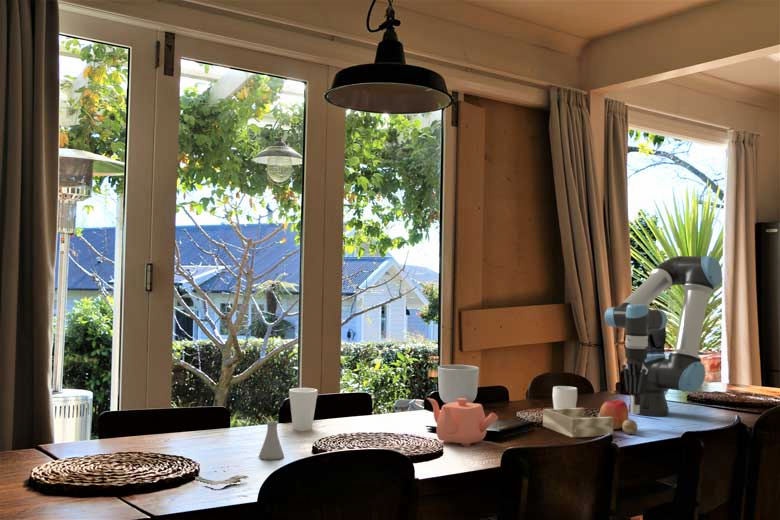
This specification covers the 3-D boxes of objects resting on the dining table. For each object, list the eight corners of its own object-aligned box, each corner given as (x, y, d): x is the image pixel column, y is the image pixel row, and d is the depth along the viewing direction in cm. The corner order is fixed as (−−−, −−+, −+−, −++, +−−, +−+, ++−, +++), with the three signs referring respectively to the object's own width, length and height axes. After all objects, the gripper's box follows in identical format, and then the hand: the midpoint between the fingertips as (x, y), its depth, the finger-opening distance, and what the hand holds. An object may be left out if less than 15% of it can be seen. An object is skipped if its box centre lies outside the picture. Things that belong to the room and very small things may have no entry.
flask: (259, 454, 221) (260, 419, 221) (285, 454, 221) (285, 419, 221) (257, 460, 213) (258, 424, 214) (283, 460, 214) (284, 424, 214)
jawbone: (229, 495, 183) (229, 487, 183) (158, 487, 190) (158, 479, 190) (249, 483, 192) (248, 475, 191) (180, 475, 199) (180, 467, 199)
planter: (433, 400, 321) (434, 364, 321) (473, 401, 323) (474, 364, 323) (440, 408, 304) (441, 369, 304) (482, 408, 306) (483, 370, 306)
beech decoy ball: (631, 432, 265) (631, 417, 265) (640, 435, 260) (640, 420, 261) (619, 432, 264) (619, 418, 264) (628, 435, 259) (628, 421, 259)
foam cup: (321, 427, 260) (322, 389, 260) (307, 432, 252) (308, 393, 252) (297, 424, 264) (298, 387, 264) (282, 429, 256) (283, 390, 256)
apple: (617, 425, 277) (618, 397, 277) (633, 430, 268) (634, 402, 268) (594, 426, 274) (595, 398, 274) (610, 432, 265) (610, 403, 265)
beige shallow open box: (581, 424, 277) (582, 407, 277) (613, 435, 259) (613, 417, 259) (542, 426, 272) (543, 409, 272) (572, 437, 254) (572, 419, 254)
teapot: (442, 449, 232) (443, 404, 232) (425, 436, 250) (426, 394, 250) (498, 448, 236) (499, 403, 236) (478, 435, 254) (479, 393, 254)
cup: (574, 418, 289) (575, 386, 289) (578, 422, 280) (579, 390, 280) (550, 417, 290) (551, 385, 290) (553, 421, 281) (554, 389, 281)
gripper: (616, 345, 279) (614, 410, 278) (639, 349, 266) (637, 417, 266) (633, 345, 281) (632, 410, 281) (656, 349, 269) (655, 416, 268)
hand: (634, 413), depth 273 cm, fingers closed
